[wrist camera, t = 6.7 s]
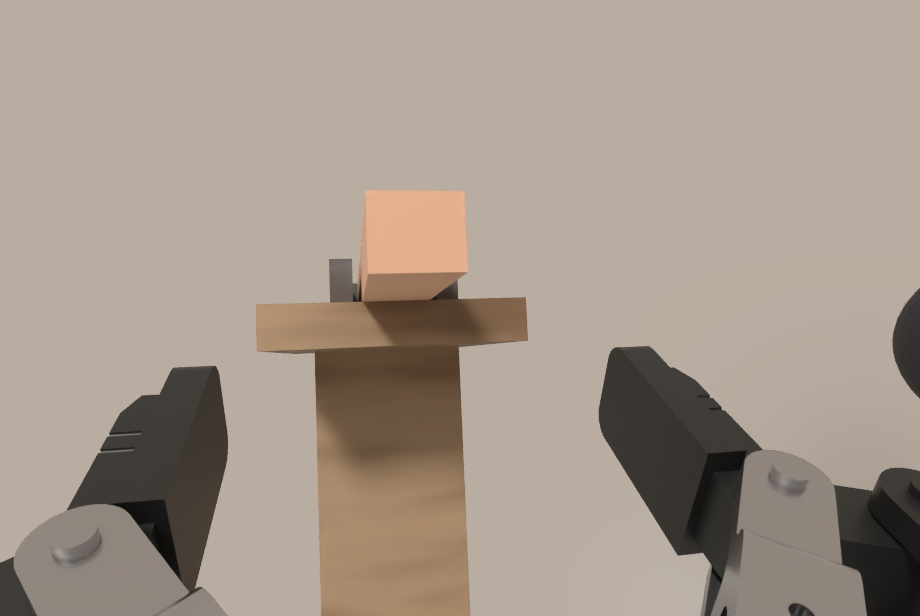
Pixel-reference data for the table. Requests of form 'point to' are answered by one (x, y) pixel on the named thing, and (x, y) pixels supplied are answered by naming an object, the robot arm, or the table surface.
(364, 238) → the block
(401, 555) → the stand
